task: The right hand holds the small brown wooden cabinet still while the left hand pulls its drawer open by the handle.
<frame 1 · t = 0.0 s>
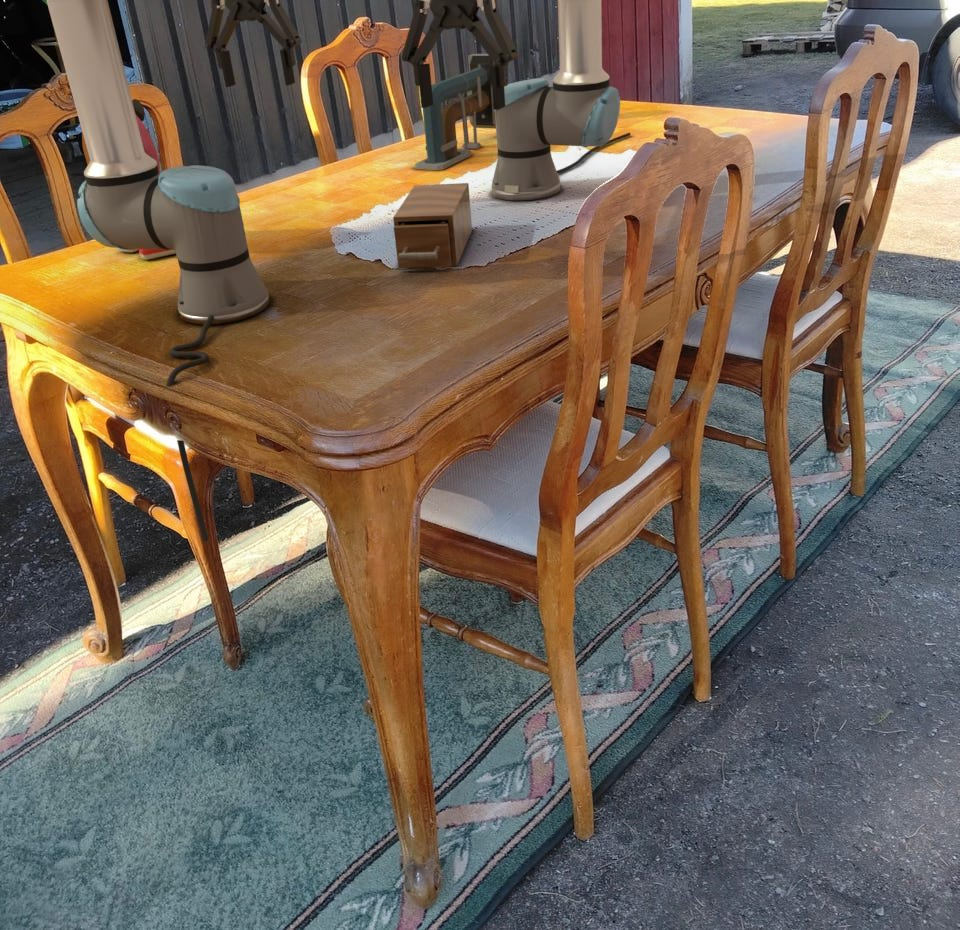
left hand: (260, 85, 196), 28 cm above the table, tool pointing down, fingers open, 13 cm apart
right hand: (462, 107, 159), 28 cm above the table, tool pointing down, fingers open, 13 cm apart
toy: (152, 251, 198), on the table
clamp: (461, 153, 253), on the table
drawer: (429, 234, 179), point 5 cm above the table, slide at 1.9 cm
cabinet: (437, 248, 186), on the table
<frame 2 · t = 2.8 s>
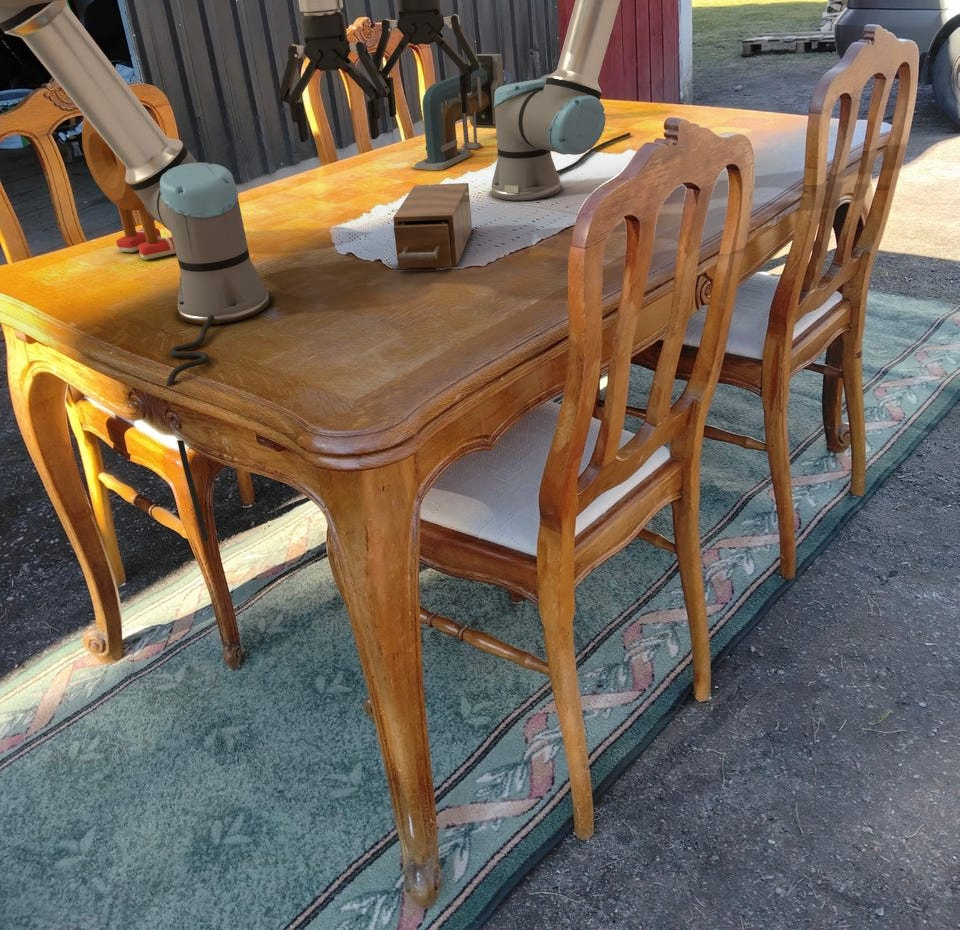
left hand: (339, 139, 178), 21 cm above the table, tool pointing down, fingers open, 13 cm apart
right hand: (429, 113, 179), 24 cm above the table, tool pointing down, fingers open, 13 cm apart
nothing on the table moved.
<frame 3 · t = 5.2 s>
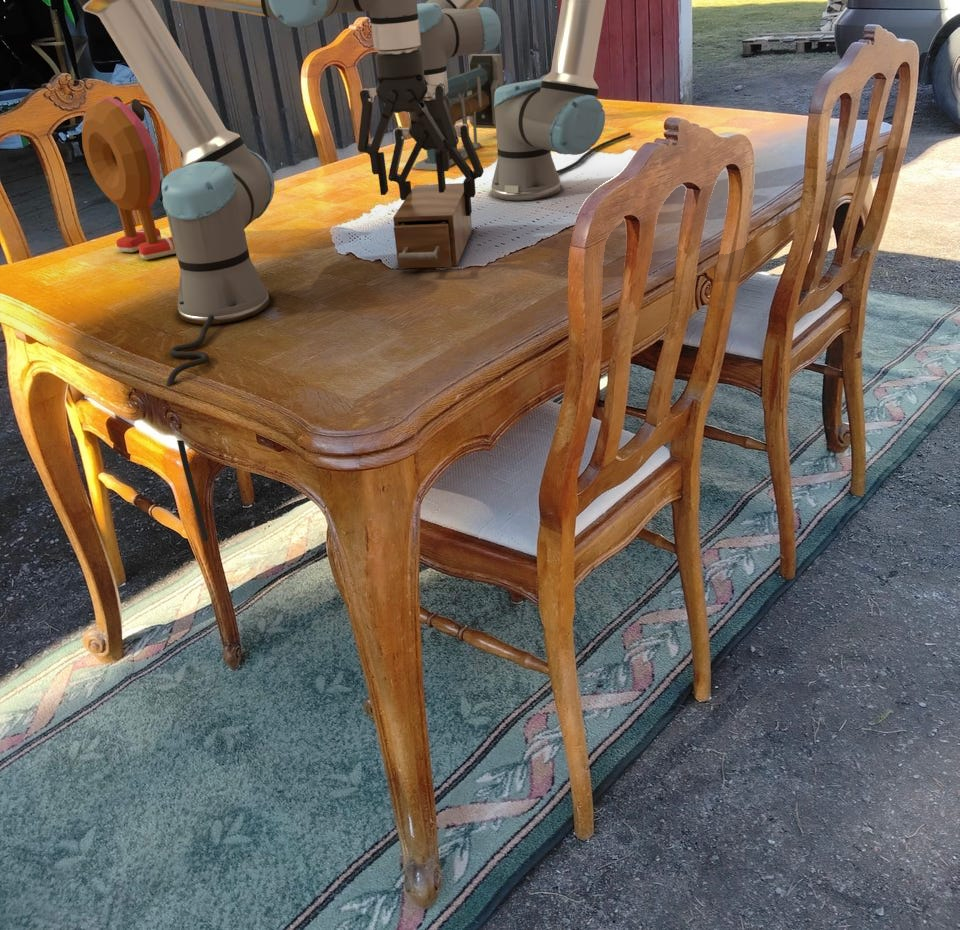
left hand: (413, 191, 165), 15 cm above the table, tool pointing down, fingers open, 9 cm apart
right hand: (439, 215, 189), 5 cm above the table, tool pointing down, fingers closed on cabinet, 11 cm apart
cabinet: (437, 247, 186), on the table, touching right hand
everything else where it was.
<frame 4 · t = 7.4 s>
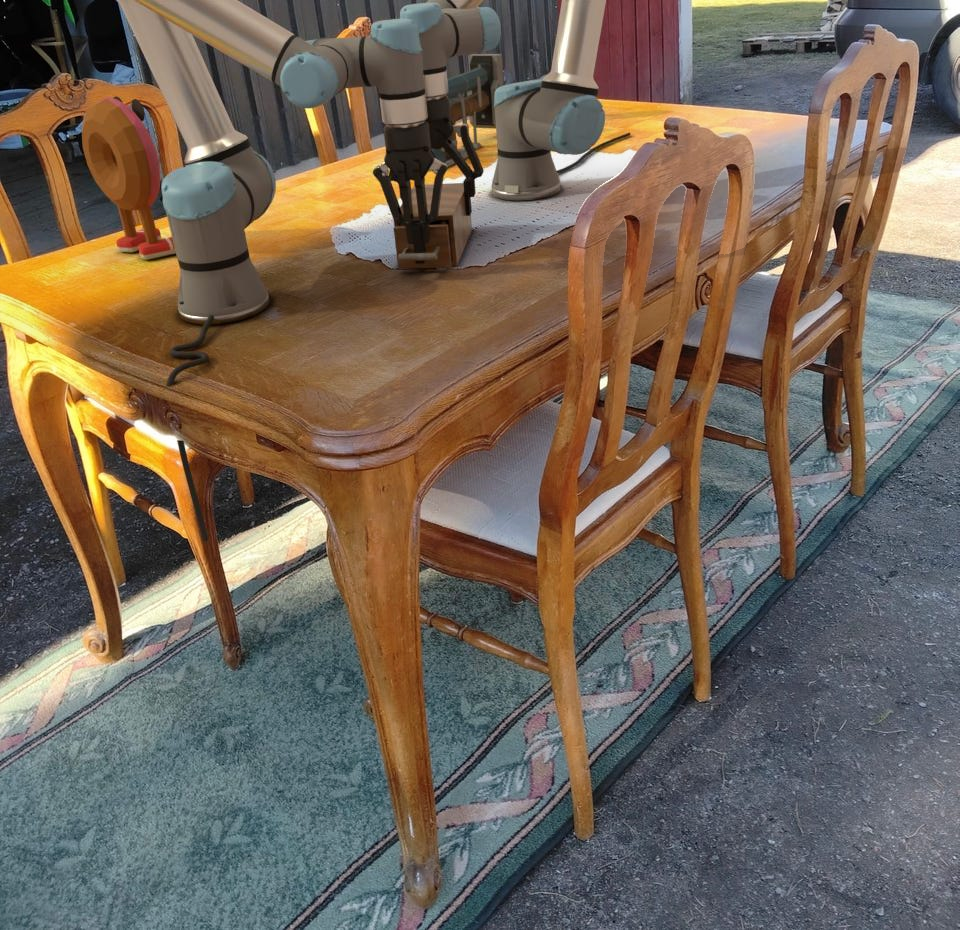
left hand: (421, 260, 171), 3 cm above the table, tool pointing down, fingers closed
right hand: (439, 214, 189), 5 cm above the table, tool pointing down, fingers closed on cabinet, 11 cm apart
drawer: (429, 234, 178), point 5 cm above the table, slide at 2.2 cm, touching left hand
cabinet: (437, 247, 186), on the table, touching right hand
everything else where it was.
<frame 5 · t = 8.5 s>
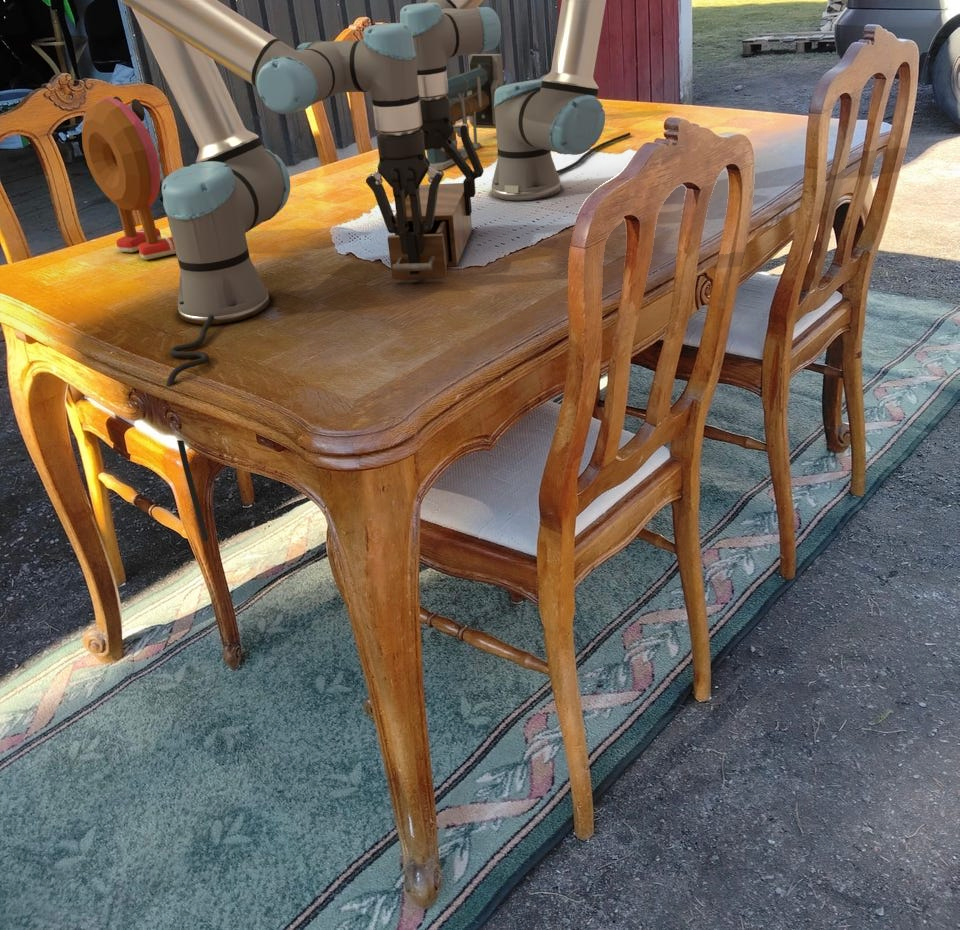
left hand: (415, 271, 166), 3 cm above the table, tool pointing down, fingers closed
right hand: (439, 214, 189), 5 cm above the table, tool pointing down, fingers closed on cabinet, 11 cm apart
drawer: (424, 243, 174), point 5 cm above the table, slide at 7.5 cm, touching left hand
cabinet: (437, 247, 186), on the table, touching right hand
everything else where it was.
when the right hand's fingers open (5 cm above the table, at t = 10.3 s): cabinet stays where it is, on the table.
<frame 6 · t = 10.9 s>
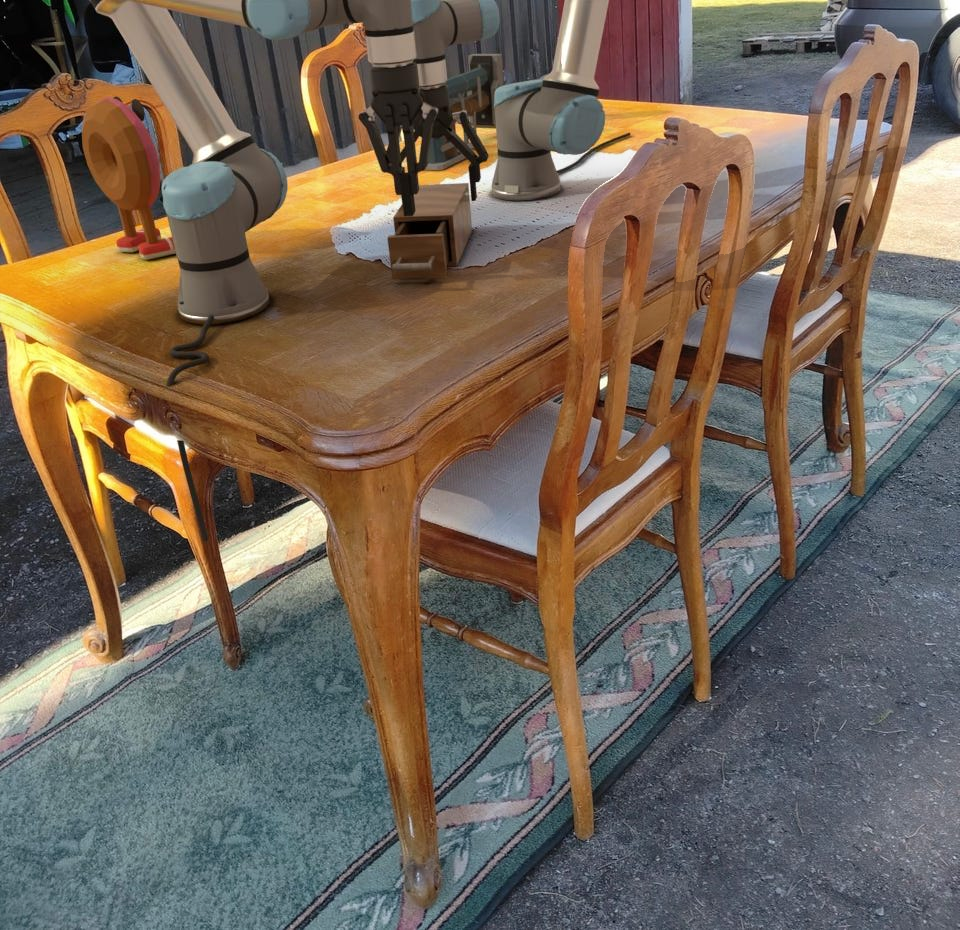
left hand: (409, 213, 162), 13 cm above the table, tool pointing down, fingers closed
right hand: (439, 201, 188), 7 cm above the table, tool pointing down, fingers open, 13 cm apart
drawer: (424, 243, 174), point 5 cm above the table, slide at 7.5 cm
cabinet: (437, 248, 186), on the table
everything else where it was.
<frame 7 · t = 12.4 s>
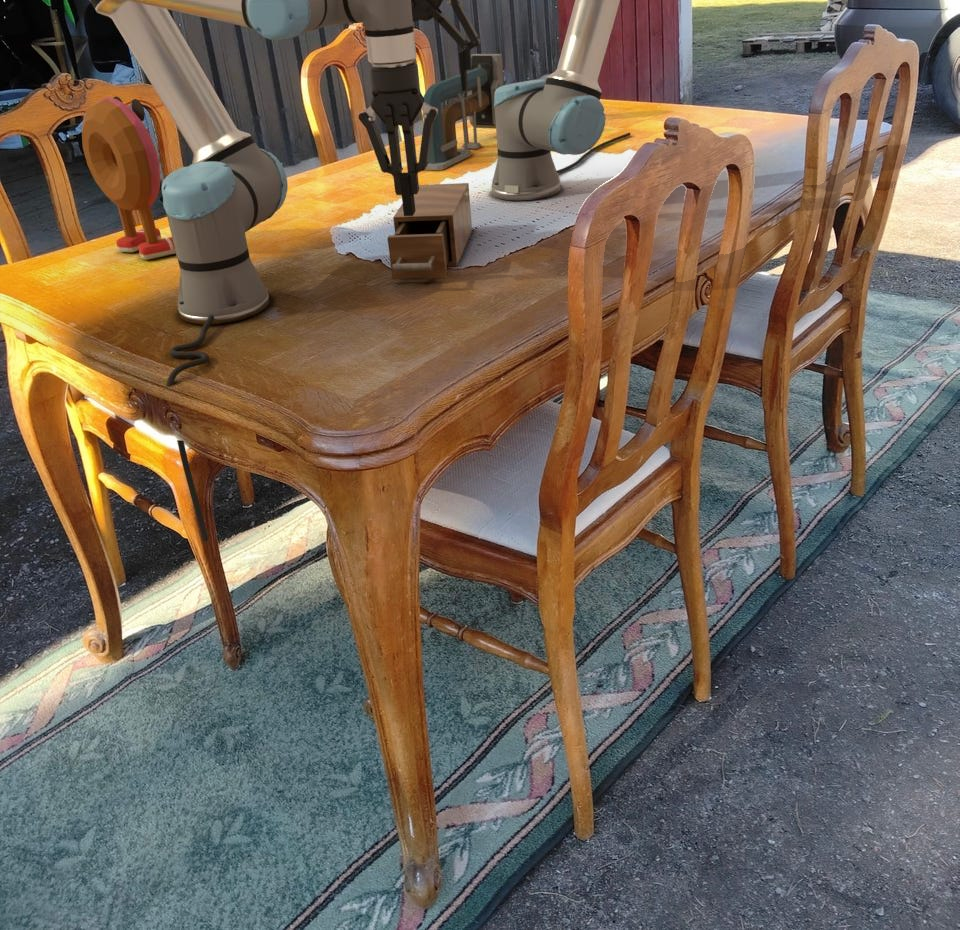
left hand: (409, 213, 162), 13 cm above the table, tool pointing down, fingers closed
right hand: (428, 91, 177), 28 cm above the table, tool pointing down, fingers open, 13 cm apart
nothing on the table moved.
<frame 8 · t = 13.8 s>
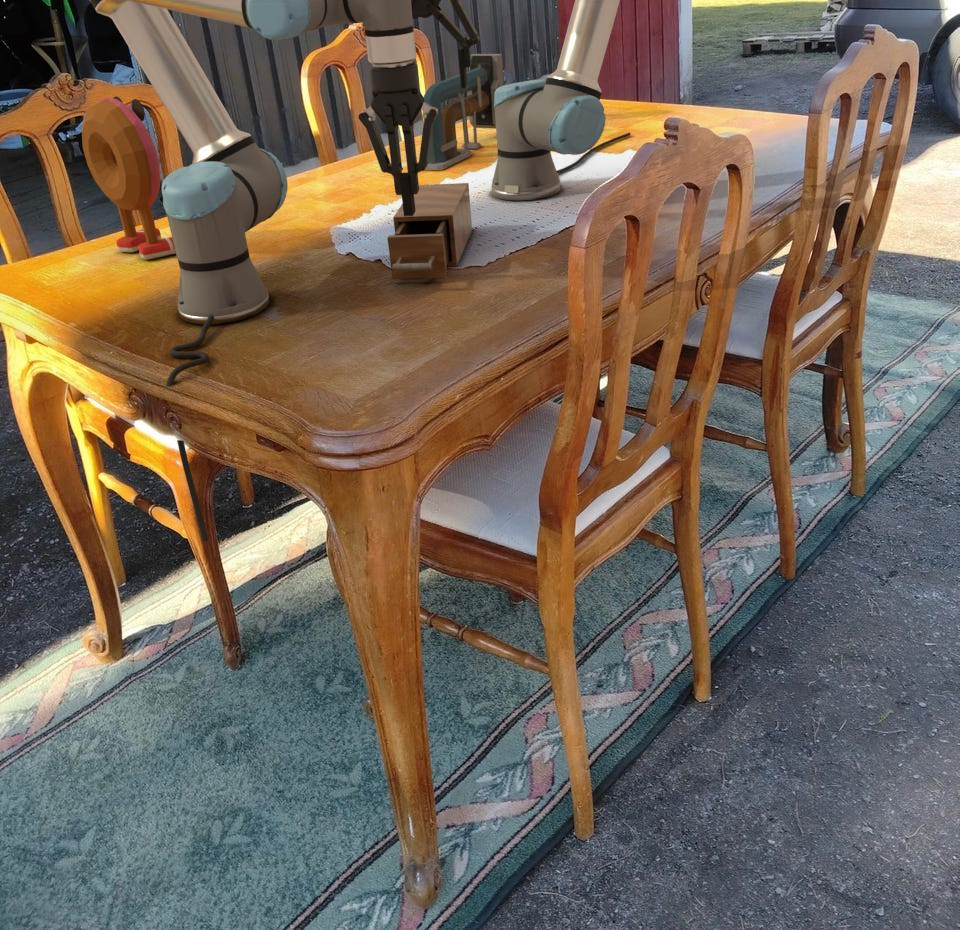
left hand: (409, 213, 162), 13 cm above the table, tool pointing down, fingers closed
right hand: (427, 89, 177), 28 cm above the table, tool pointing down, fingers open, 13 cm apart
nothing on the table moved.
at the end: drawer slide at 7.5 cm; cabinet tilted 0°; cabinet never tilted more than 1° during the clip; cabinet moved 0.0 cm from its start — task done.
